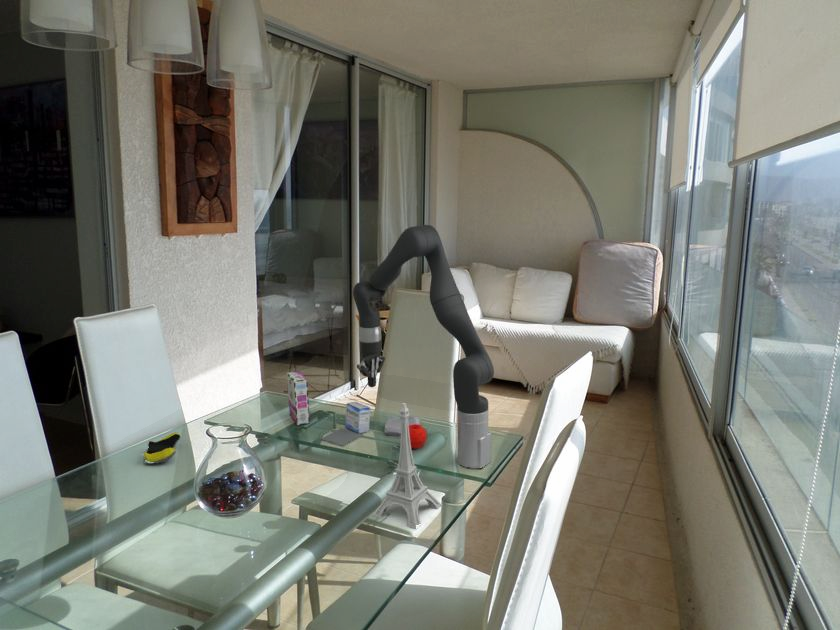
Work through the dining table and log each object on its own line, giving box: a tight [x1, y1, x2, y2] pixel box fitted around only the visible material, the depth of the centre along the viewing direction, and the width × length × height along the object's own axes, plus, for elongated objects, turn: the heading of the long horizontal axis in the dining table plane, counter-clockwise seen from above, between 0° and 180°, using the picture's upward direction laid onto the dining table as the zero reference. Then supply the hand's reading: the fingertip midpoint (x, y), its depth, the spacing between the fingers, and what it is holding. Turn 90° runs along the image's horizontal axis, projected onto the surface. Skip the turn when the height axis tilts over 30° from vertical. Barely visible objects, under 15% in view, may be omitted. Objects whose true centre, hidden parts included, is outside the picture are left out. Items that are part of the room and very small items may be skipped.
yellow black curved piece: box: [141, 432, 181, 464], centre depth 205 cm, size 15×6×10 cm
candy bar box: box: [286, 370, 311, 426], centre depth 231 cm, size 11×5×16 cm, turn 25°
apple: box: [409, 424, 428, 450], centre depth 208 cm, size 8×8×7 cm
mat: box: [320, 427, 364, 447], centre depth 217 cm, size 10×10×1 cm
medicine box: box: [345, 401, 371, 434], centre depth 222 cm, size 8×4×9 cm, turn 42°
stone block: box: [383, 416, 421, 437], centre depth 220 cm, size 12×5×10 cm
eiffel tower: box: [371, 402, 443, 530], centre depth 168 cm, size 13×13×30 cm
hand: (372, 386), depth 227 cm, fingers closed
